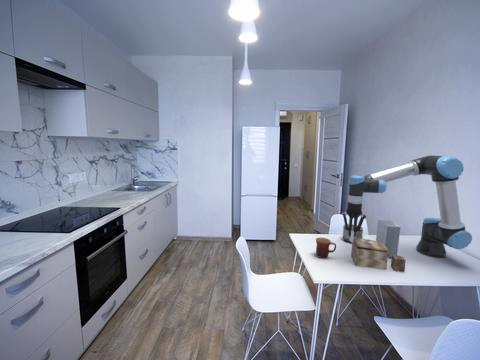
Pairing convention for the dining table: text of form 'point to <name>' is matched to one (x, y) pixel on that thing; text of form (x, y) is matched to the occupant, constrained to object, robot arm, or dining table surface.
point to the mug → (323, 247)
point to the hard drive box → (388, 235)
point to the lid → (370, 244)
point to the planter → (347, 237)
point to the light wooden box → (369, 257)
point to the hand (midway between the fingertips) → (351, 241)
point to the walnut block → (398, 263)
